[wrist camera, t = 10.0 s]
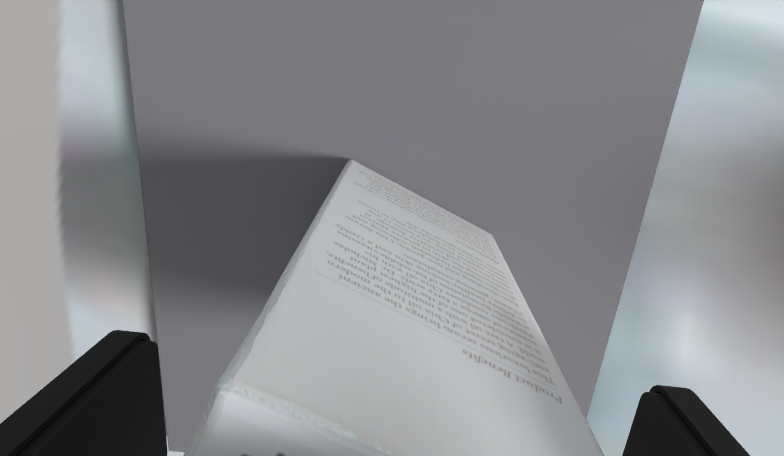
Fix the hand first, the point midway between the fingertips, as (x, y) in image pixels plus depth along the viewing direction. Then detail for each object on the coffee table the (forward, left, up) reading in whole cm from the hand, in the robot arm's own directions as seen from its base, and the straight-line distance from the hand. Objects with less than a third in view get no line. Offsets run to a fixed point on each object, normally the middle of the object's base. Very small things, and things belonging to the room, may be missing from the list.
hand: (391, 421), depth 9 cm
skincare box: (0, 0, -9) cm, 9 cm away
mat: (0, 0, -9) cm, 9 cm away
